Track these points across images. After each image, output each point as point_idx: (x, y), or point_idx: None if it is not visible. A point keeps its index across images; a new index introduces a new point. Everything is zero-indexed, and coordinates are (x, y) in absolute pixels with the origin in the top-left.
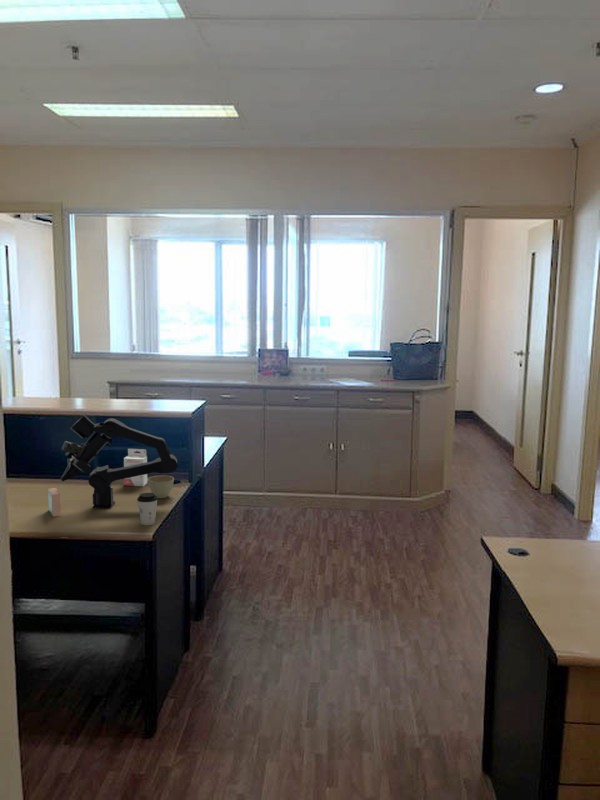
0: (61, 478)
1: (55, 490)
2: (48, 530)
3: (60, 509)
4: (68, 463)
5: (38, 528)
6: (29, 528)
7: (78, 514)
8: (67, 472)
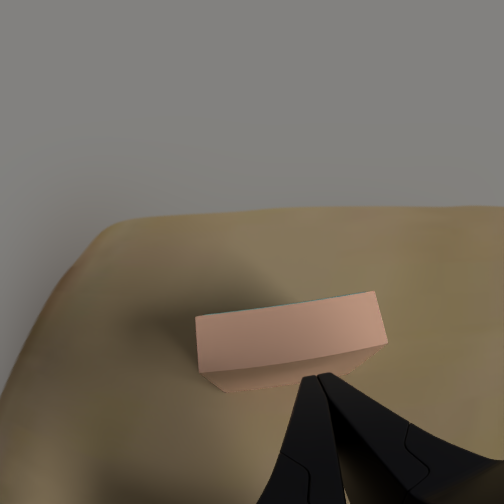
0: (307, 381)
1: (311, 344)
2: (57, 318)
3: (219, 388)
4: (462, 501)
5: (94, 286)
6: (112, 257)
7: (205, 476)
8: (279, 466)
